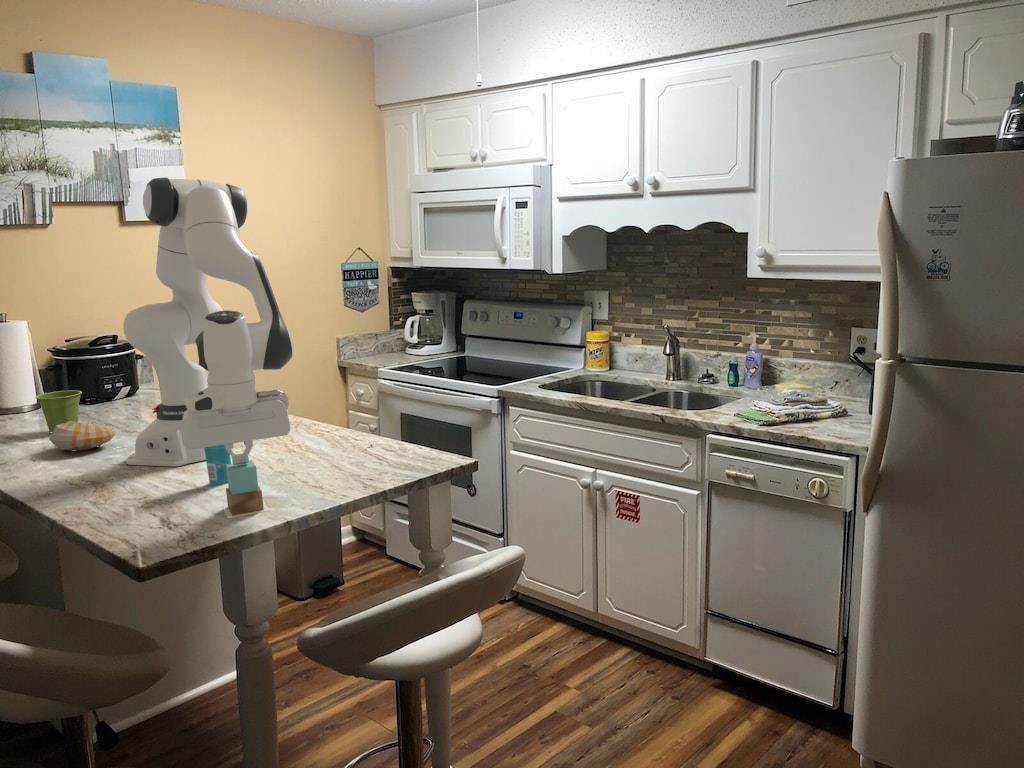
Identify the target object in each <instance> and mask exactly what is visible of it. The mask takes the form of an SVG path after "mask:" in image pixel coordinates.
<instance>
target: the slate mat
mask: <svg viewBox="0 0 1024 768" xmlns="http://www.w3.org/2000/svg"><path fill="white" fill-rule="evenodd" d="M221 507H222V509H223V510H222V511H223V512H224V514H225V516H226V518H227V519H232V518H233V519H234V518H239V517H242V516H243V517H244V516H248V515H249V516H250V515H255V514H259V513H264V512H271V511H270V508H269V506H267V504H266V502H265V501H264V500H263V508H264V510H261V511H256V512H250V513H245V514H240V515H234V516H232V514H231V512H230V510H229V508H228V505H223V506H221Z"/></svg>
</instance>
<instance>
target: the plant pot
mask: <svg viewBox="0 0 1024 768" xmlns="http://www.w3.org/2000/svg"><path fill="white" fill-rule="evenodd" d="M82 393H83V392H82V391H81V390H72V389H71V390H57V391H52V392H46V393H42V394H41V393H40V394H39V395H35V399H37V401H38V404H39V406H40V408H41V411H42V413H43V417H44V418H45V422H46V425H47V429H48V431H49V433H50V432H53V430H54V428H55V427H56V425H60V424H61V423H62V424H63V423H67V422H69V421H74V422H78V423H79V410H80V409H79V408H80V401H81V394H82Z"/></svg>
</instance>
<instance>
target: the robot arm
mask: <svg viewBox="0 0 1024 768" xmlns="http://www.w3.org/2000/svg"><path fill="white" fill-rule="evenodd" d="M247 201H248V199H247V196H246V194H245V192H244V191H243V189H242V188H240V187H238V186H235V185H233V184H229V183H225V184H224V183H219V182H215V181H209V180H205V179H189V178H186V179H184V178H168V177H156V178H152V179H151V180H150V181H149V182H148V183H147V184H146V186H145V189H144V192H143V195H142V205H143V209H144V214H145V215H146V218H147V220H149V221H150V222H151V223H152V224H155V225H157V226H159V234H158V242H157V253H156V255H157V256H156V263H155V264H156V266H155V267H156V268H155V274H156V277H157V278H158V280H159V281H160V283H161V284H163V285H164V286H165V287H167V288H169V289H171V291H172V300H171V301H166V302H159V303H157V302H156V303H149V304H146V305H143V306H140V307H137V308H134V309H132V310H130V311H129V312H127V314H126V315H125V316H124V317H125V318H124V320H123V326H122V327H123V329H122V330H123V334H124V338H125V339H126V340H127V342H128V343H129V345H130V346H132V347H133V348H134V349H136V350H138V351H139V352H141V353H142V354H143V355H144V356H145V357H146V358H147V359H148V360H149V361H150V363H151V365H152V366H153V369H154V370H155V373H156V377H157V380H158V386H159V392H160V393H159V394H160V398H161V399H160V400H161V402H160V404H158V405H156V406H155V407H154V408H151V409H152V414H155V413H156V419H154V420H153V421H152V422H151V423H150V424H149V425H148V426H147V427H145V428H144V429H143V430H141V432H140V433H139V434H138V435H137V437H136V439H135V443H134V453H132V454H130V455H129V456H127V458H126V460H125V461H126V462H125V463H126V465H127V464H128V466H150V467H151V466H153V467H182V466H185V465H188V464H192V463H197V462H203V461H206V456H205V450H204V448H205V447H212V446H218V445H225V448H226V450H227V451H228V452H229V454H230V457H231V463H233V465H239V464H245V463H249V461H250V460H249V455H250V453H251V451H252V449H253V446H254V443H253V441H258V440H264V439H272V438H278V437H283V436H288V435H289V433H290V432H291V428H292V427H291V423H290V422H291V421H290V418H289V414H288V409H289V396H288V394H286V393H285V391H281V390H280V389H273V390H268V391H267V390H266V391H257V383H256V375H255V373H254V371H255V370H264V371H267V370H269V371H270V370H274V371H275V370H281V369H282V368H283V367H285V366H286V365H287V364H288V363H289V362H290V360H291V359H292V358H293V352H294V345H293V338H292V335H291V333H290V331H289V329H288V328H287V325H286V323H285V320H284V318H283V316H282V314H281V311H280V307H279V305H278V303H277V300H276V297H275V294H274V292H273V288H272V286H271V283H270V280H269V277H268V275H267V272H266V270H265V268H264V265H263V263H262V261H261V259H260V257H259V256H258V255H257V254H256V253H254V252H252V251H250V250H249V249H248V248H247V247H246V246H245V245H244V243H243V242H242V240H241V237H240V231H239V229H240V228H242V226H244V225H245V223H246V219H247V215H248V210H249V209H248V208H249V207H248V202H247ZM207 276H209V277H212V278H215V279H220V280H224V281H228V282H231V283H234V284H237V285H240V286H241V287H243V288H245V289H246V290H248V291H249V292H250V294H251V296H252V298H253V301H254V304H255V307H256V310H257V312H258V316H259V320H260V321H258V322H248V323H247V319H246V317H245V316H246V315H244V314H243V313H242V312H239V311H234V310H223V308H222V307H221V305H220V304H219V303H218V302H217V301H216V300H214V299H213V298H212V296H211V294H210V292H209V289H208V283H207ZM193 344H194V345H196V349H197V356H198V362H197V361H194V360H192V359H190V357H189V356H188V354H187V351H186V349H185V346H187V345H193ZM207 372H208V374H207ZM238 443H243V444H244V446H245V448H244V450H243V452H242V453H235V452H234V451H233V450H232V449H234V444H238Z"/></svg>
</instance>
